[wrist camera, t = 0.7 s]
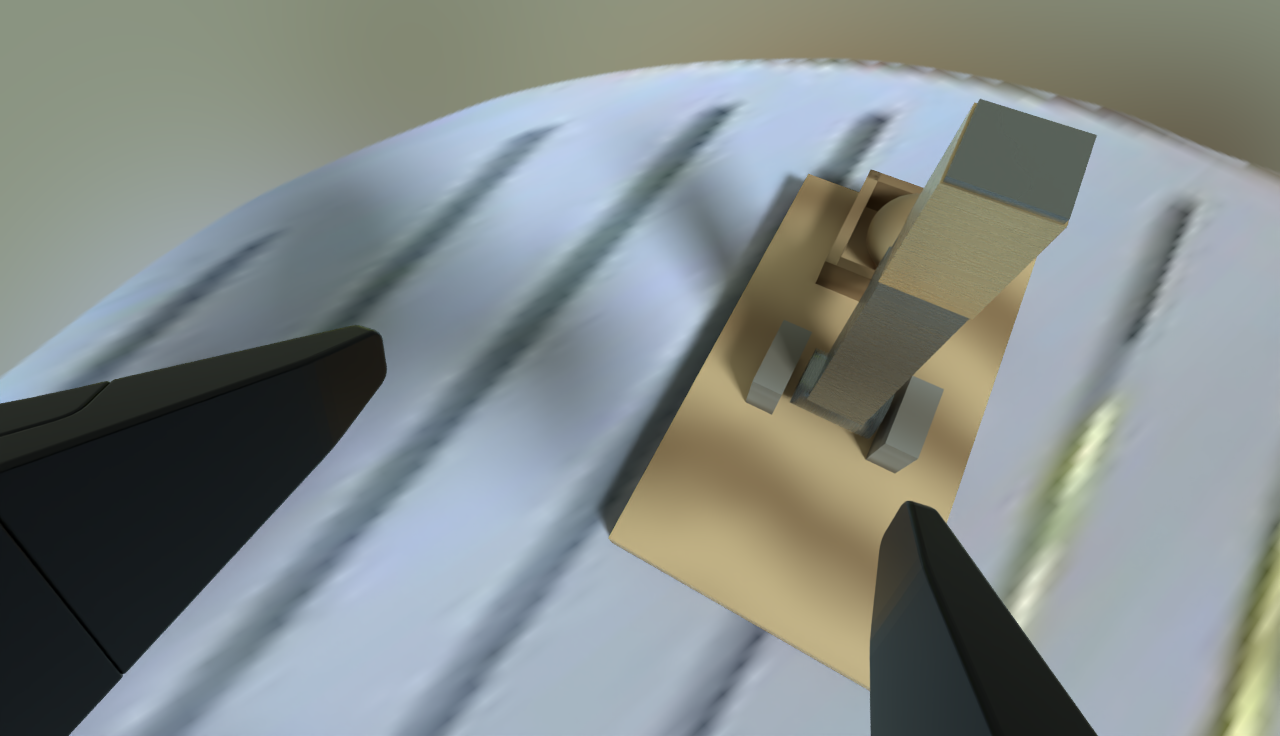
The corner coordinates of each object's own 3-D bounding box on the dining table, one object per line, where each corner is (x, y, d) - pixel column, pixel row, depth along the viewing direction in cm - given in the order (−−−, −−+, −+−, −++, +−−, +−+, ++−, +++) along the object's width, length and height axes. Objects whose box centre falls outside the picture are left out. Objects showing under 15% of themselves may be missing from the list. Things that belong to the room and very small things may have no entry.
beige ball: (948, 289, 25) (989, 241, 22) (868, 299, 26) (897, 252, 22) (923, 224, 27) (958, 170, 24) (847, 233, 27) (872, 180, 24)
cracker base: (872, 692, 21) (913, 708, 17) (611, 542, 23) (601, 529, 20) (1018, 275, 27) (1068, 225, 24) (802, 194, 30) (819, 138, 26)
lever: (860, 446, 23) (1098, 233, 10) (785, 410, 23) (918, 170, 11) (905, 338, 24) (1155, 41, 12) (834, 308, 25) (997, -1, 13)
